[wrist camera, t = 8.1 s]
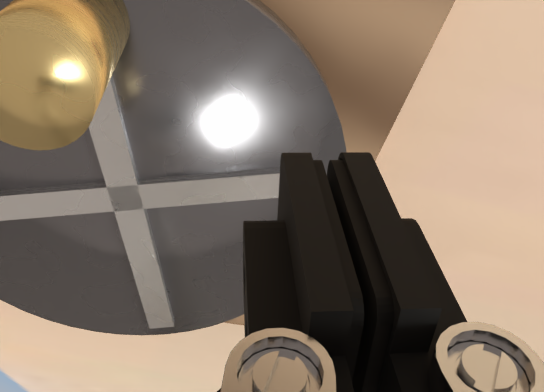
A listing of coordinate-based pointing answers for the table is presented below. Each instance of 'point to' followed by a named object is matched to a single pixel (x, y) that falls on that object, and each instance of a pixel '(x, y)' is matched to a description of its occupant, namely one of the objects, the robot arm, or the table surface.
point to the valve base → (365, 58)
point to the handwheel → (146, 154)
